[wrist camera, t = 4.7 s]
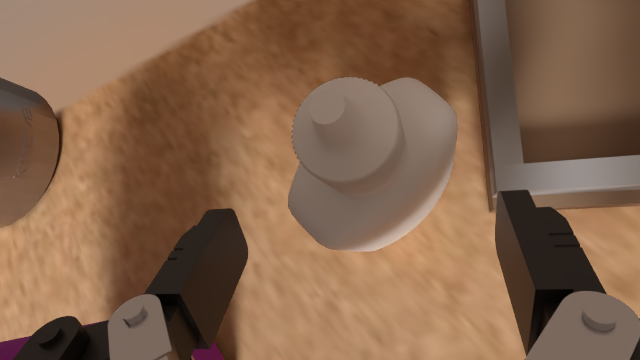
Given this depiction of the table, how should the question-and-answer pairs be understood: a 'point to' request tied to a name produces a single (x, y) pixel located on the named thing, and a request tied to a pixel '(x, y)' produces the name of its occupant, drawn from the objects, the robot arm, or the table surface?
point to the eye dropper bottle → (370, 160)
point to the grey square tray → (560, 99)
